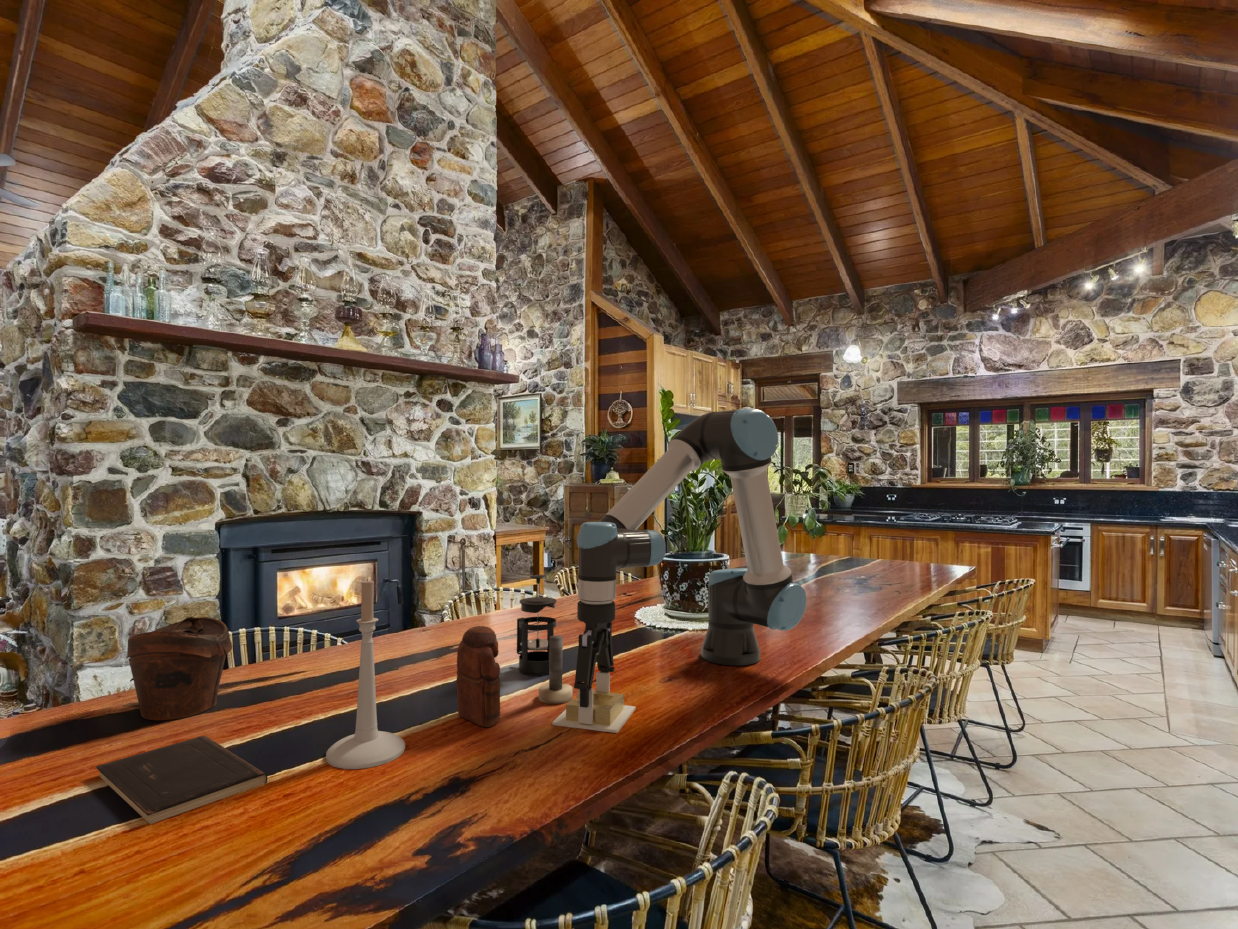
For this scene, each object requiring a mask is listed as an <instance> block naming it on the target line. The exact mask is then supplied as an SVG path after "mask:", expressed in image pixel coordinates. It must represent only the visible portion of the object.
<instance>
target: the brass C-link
mask: <svg viewBox="0 0 1238 929" xmlns="http://www.w3.org/2000/svg"><path fill="white" fill-rule="evenodd" d="M624 696H625V695H624V694H623V693H615V692H610V693H608V692H599V691H596V690H593V723H594V724H602V725H611V724H612V723H613V722H614V720H615V719H616V718H617V717H618V715H619V714H620V713H621V712H622V710H623V709H624V705H625V703H624V702H625V701H624V698H625V697H624ZM578 706H579V692H578V693H576V699H573V698H572V699H571V700H570V701H568V702H566V704H565V710H566V720H570V721H578Z"/></svg>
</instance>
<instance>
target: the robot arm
mask: <svg viewBox="0 0 1238 929" xmlns="http://www.w3.org/2000/svg"><path fill="white" fill-rule="evenodd" d="M770 416H771V415H770ZM770 416H769V414H767V413H765V411H763V410H760V409H758V408H757V409H756V408H755V409H754V408H753V409H750V408H739V409H730V410H729V409H728V410H722V411H721V410H719V411H718V410H717V411H708V412H706V413H704V414H702V415H700V416H698V417H697V418H695V419H694V420H692V421H691V422H689V423H688V424H687V425H686V426H685V427H683V428H682V429H681V430H680V431H679V432H678V433H677V434H676V435H675V436H674V437H673V438H672V439H670V441H669V442H668V444H667V450H666V451H665V453H663V455H661V457H659V458H658V459H657V461H656V462H655V463H654V464H652V466H651V467H650V468H649V469H648V470H647V471H646V472H645V473H644V474H643V475H642V476H641V477H640V478H639V479H638V481H636V483H634V484H633V486H632V487H630V489H629V490H627V492H626V493H625V494H623V496H622V497H621V498H620V499H619V500H618V501H617V502H616V503H615V504H614V505H613V507H612V508H610V510H608V511H607V513H606V514H605V515H604V516H602V517H601V519H600V520H599V521H587V522H584V523H582V524H580V527H579V531H578V534H577V536H576V545H577V546H576V547H577V548H578V549H577V550H578V552H577V553H578V555H577V557H578V561H577V567H578V568H577V578H578V579H577V582H576V583H575V587H576V588H577V598H578V599H579V601H578V602H577V606H576V607H577V608H576V610H577V611H576V613H577V614H576V618H577V620H578V621H579V622H580V623H581V622H582V623H584V624H585V628H584V631H583V634H581V633H580V634H579V635H578V647H577V648H578V650H577V658H576V660H577V661H576V668H575V675H574V676H575V679H574V684H573V690H575V689H576V690H578V693H579V706H578V723H585V724H592V723H593V691H599V692H608V693H611V692H610V691H611V683H610V682H611V673H615V666H614V663H615V662H614V650H613V649H614V648H613V634H612V630H613V627H612V626H613V621H615V619H616V602H615V601H614V600H615V599H616V598H617V589H616V588H617V586H616V585H617V569H628V568H629V569H630V568H641V567H642V568H644V567H645V568H648V567H652V566H657V565H659V564H660V563H661V562H662V561H663V560H664V558H665V556H666V552H667V551H666V546H667V545H666V541H665V538H664V536H663V534H661V532H659V531H657V530H655V529H645V528H644V529H643V530H640V529H639V528H640V526H641V525H643V523H644V522H645V521H646V520H648V518H649V517H650V516H651V514H652V513H653V512H655V510H657V508H658V507H659V506H660V505H661V504H662V503H663V501H665V500H666V498H668V496H669V495H670V494H671V493H672V492H673V491H674V489H676V488H677V486H678V485H679V484H680V483H681V482H682V481H683V480H684V479H685V478H686V476H688V474H689V473H690V472H695V471H698V470H699V469H700V468H701V466H703V465H704V464H705V463H707V462H709V461H713V460H719V461H720V465H721V469H722V472H723V473H725V474H726V475H727V476H729V477H730V481H731V488H732V492H733V498H734V503H735V509H736V514H737V519H738V523H739V524H738V525H739V529H740V535H741V541H742V545H743V551H744V556H745V557H744V558H745V561H746V567H741V568H740V567H739V568H736V567H735V568H725V569H717V570H716V569H715V570H712V571H711V572H710V573H709V576H708V585H707V592H708V593H707V596H708V597H707V604H708V606H707V608H708V609H707V613H708V618H707V619H708V621H707V623H708V624H707V630H706V633H705V636H704V639H703V642H702V645H701V648H700V650H701V651H700V652H701V653H700V654H701V658H702V659H703V660H705V661H707V662H709V663H712V664H717V665H718V664H719V665H723V666H748V665H753V664H754V665H755V664H756V663H759V662H760V660H761V648H760V646H759V643H758V640H757V636H756V633H755V630H754V628H755V627H754V625H758V626H760V627H764V628H768V629H770V630H778V631H784V632H785V631H786V632H787V631H790V630H792V629H794V628H795V627H797V625H798V624H799V623H801V620H802V618H803V616H804V614H805V612H806V608H807V593H806V590H805V589H804V587H803V586H801V584H799V583H797V582H794V579H793V574H792V570H791V569H790V567H788V566H786V565H785V564H784V560H783V554H782V549H781V542H780V539H779V533H778V527H777V526H778V525H777V522H776V515H775V510H774V504H773V499H772V494H771V486H770V482H769V478H768V472H767V470H768V468H769V467H770V465H771V464H772V462H773V461H772V457H773V456H774V454H775V453H776V451H777V449H778V447H777V446H778V445H779V433H778V429H777V427H776V424H775V422H774V420H773V419H772V418H771V417H770ZM638 529H639V530H638ZM596 665H597V670H598V671H596V674H595V670H596ZM594 675H596V677H595V680H596V682H595V689H594V688H592V687H593V680H594Z"/></svg>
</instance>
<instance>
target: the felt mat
mask: <svg viewBox="0 0 1238 929" xmlns="http://www.w3.org/2000/svg"><path fill="white" fill-rule="evenodd" d="M635 710H636V706H634V705H628V704H627V705H626V704H624V709H623V710H622V712H621V713H620V714H619V715H618V717H617V718H616V719H615V720H614V722H613V723H612V724H611V725H602V724H594V723H592V724H585V723H578V721H570V720H566V709H564V710H563V711H562V713H560V714H559V715H558V716H557V717H556V718H555V719H554V720H553V721H552V726H557V727H565V728H566V727H567V728H572V729H573V728H574V729H584V730H590V731H591V730H592V731H598V732H606V733H607V732H608V733H613V734H614V733H615V734H618V733H619V732H620V730H622V728H623V726H624V725H625V724H626V723H627V721H628V720H629V718H630V717H631V716H632V714H633V713H634V712H635Z"/></svg>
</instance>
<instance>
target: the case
mask: <svg viewBox="0 0 1238 929" xmlns="http://www.w3.org/2000/svg"><path fill="white" fill-rule="evenodd" d="M126 650H127V651H126V652H127V653H126V659H128V662H129V667H130V672H131V675H132V678H130V681H129V682H130V683H131V682H132V681H133V684H134V688H135V689H134V690H135V694H136V698H137V702H138V705H139V711H140V715H141V718H143V719H146V720H148V721H156V722H157V721H170V720H171V721H172V720H179V719H183V718H188V717H192V716H195V715H198V714H201V713H204V712H206V711H208V710H210V709H212V708H214V707H215V706H216V705H217V702H218V693H219V688H220V683H221V678H222V675H223V669H224V665H225V660H226V657H227V656H226V655H228V654H229V653H231V651H232V650H233V643H232V640H231V637H230V632H229V628H228V627H227V625H226V624H225V622H223V621H221V620H219V619H217V618H213V617H208V616H205V617H203V616H202V617H195V616H189V617H186V618H184V619H182V620H181V621H176V622H174V623H171V624H169V625H165V626H163V627H160V628H159V627H158V628H157V629H155V630H151V631H147V632H142V633H138V634H135V635H132V636H130V637H128V638H127V649H126Z"/></svg>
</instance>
